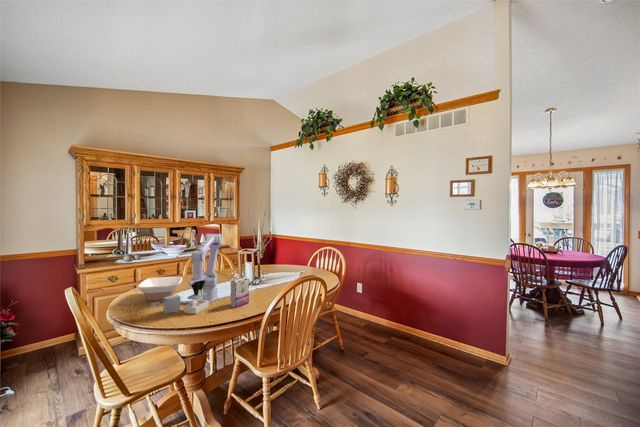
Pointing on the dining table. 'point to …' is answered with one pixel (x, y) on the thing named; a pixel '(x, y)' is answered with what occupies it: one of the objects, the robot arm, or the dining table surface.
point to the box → (196, 306)
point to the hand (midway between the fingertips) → (197, 293)
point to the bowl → (159, 287)
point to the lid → (195, 297)
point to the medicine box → (171, 304)
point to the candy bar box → (239, 292)
